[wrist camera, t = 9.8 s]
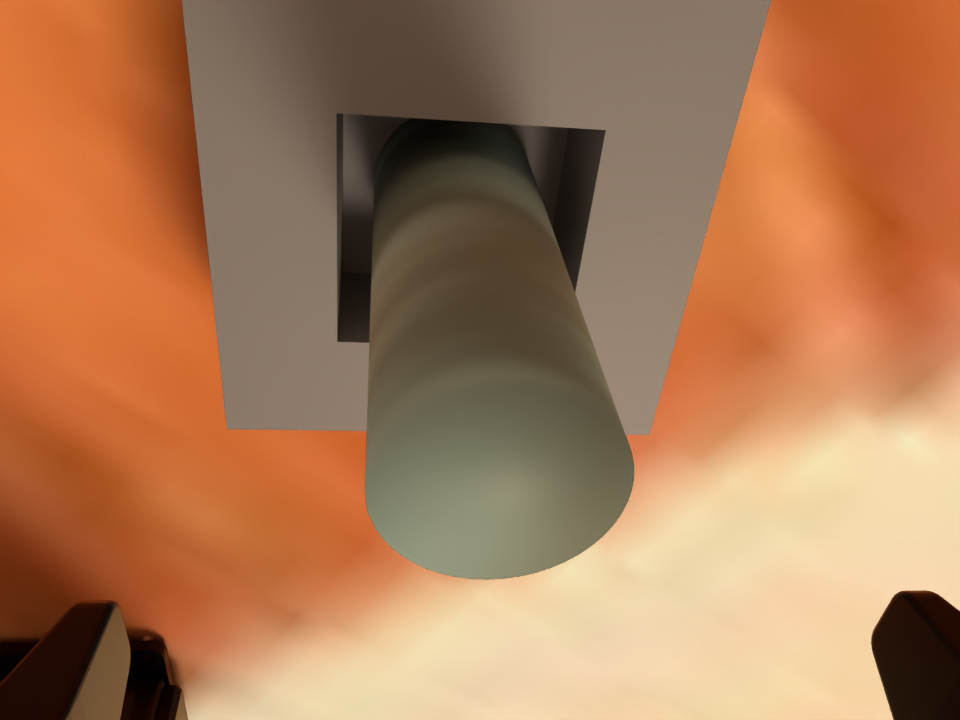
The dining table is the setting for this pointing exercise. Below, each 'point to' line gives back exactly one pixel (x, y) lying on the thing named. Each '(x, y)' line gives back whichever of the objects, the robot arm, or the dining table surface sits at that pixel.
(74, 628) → the robot arm
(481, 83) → the socket block
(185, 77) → the dining table surface
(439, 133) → the peg
